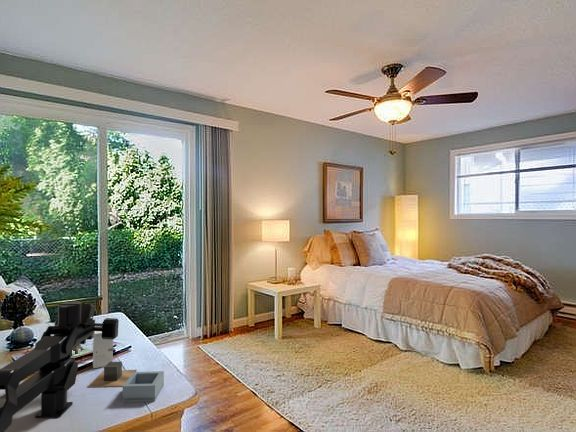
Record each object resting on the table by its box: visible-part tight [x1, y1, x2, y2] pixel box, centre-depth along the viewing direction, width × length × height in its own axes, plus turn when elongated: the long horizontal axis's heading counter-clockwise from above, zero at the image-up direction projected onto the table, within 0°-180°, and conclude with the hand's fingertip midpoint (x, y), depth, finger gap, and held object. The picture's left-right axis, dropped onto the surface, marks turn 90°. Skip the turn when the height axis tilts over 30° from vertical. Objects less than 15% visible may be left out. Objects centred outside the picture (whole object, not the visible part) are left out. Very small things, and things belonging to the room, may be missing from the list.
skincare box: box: [92, 331, 114, 369], centre depth 123 cm, size 6×4×12 cm
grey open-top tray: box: [122, 371, 165, 403], centre depth 104 cm, size 9×9×4 cm
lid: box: [86, 361, 138, 389], centre depth 113 cm, size 11×11×5 cm
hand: (99, 321), depth 119 cm, fingers open, 9 cm apart
